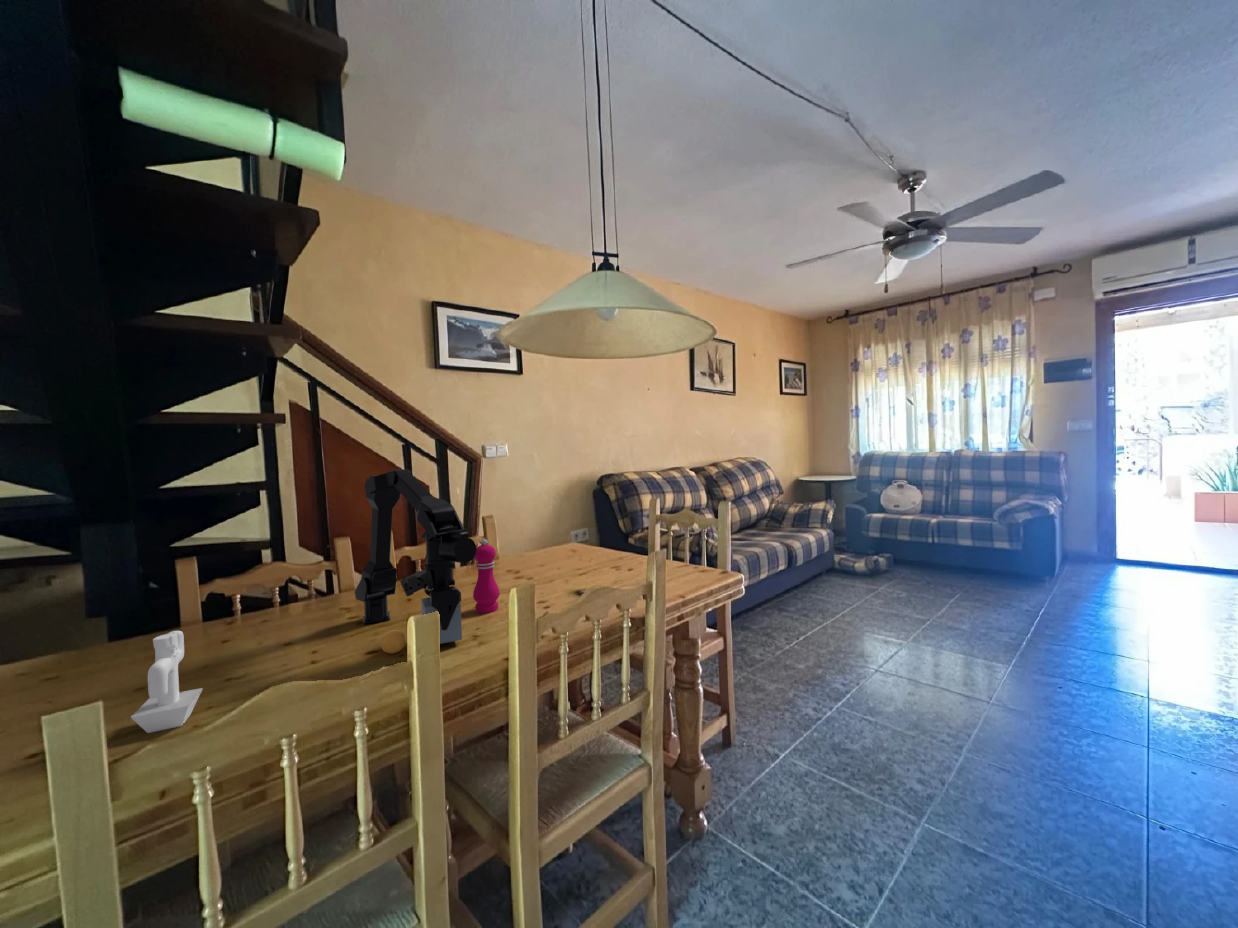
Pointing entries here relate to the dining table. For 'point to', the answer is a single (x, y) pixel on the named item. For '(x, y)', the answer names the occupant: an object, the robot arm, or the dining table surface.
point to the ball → (393, 641)
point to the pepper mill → (485, 579)
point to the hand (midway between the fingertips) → (442, 624)
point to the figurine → (166, 688)
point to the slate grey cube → (454, 627)
